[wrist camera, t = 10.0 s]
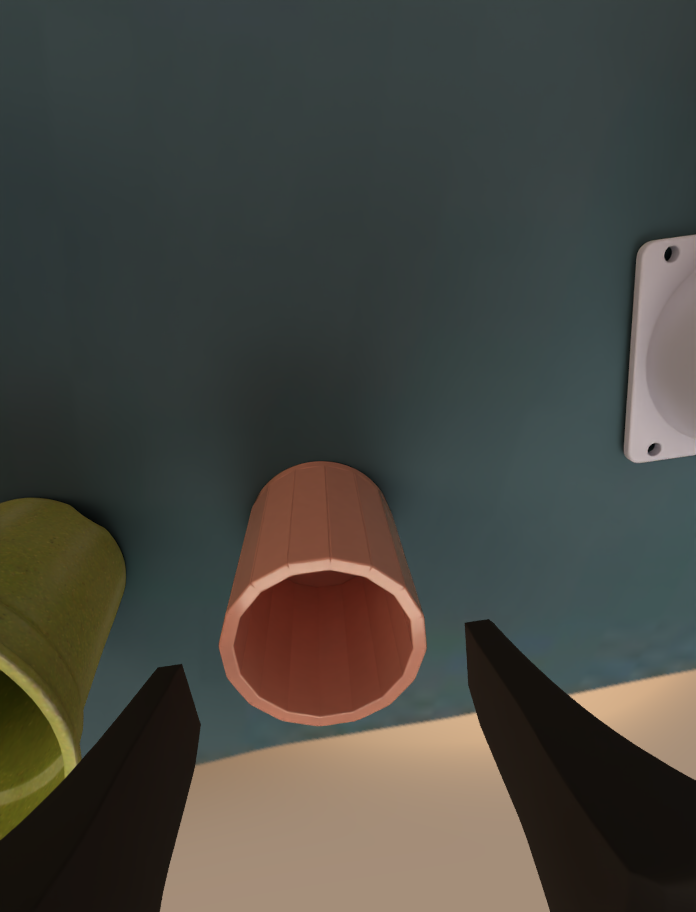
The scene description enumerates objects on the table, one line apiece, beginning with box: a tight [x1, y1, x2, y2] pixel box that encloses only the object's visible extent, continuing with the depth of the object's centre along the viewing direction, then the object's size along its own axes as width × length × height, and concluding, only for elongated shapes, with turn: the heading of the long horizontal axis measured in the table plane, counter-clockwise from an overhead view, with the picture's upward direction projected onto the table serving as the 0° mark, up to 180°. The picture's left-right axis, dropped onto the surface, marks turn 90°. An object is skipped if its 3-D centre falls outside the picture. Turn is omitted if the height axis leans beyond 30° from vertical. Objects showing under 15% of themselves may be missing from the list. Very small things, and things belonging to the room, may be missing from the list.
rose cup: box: [219, 461, 427, 726], centre depth 17 cm, size 6×6×7 cm
